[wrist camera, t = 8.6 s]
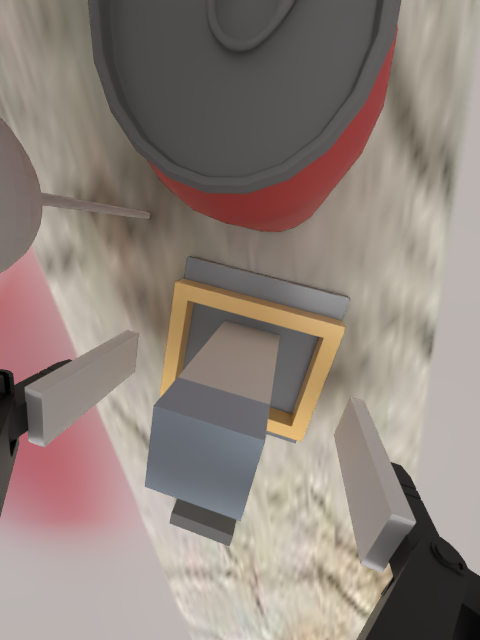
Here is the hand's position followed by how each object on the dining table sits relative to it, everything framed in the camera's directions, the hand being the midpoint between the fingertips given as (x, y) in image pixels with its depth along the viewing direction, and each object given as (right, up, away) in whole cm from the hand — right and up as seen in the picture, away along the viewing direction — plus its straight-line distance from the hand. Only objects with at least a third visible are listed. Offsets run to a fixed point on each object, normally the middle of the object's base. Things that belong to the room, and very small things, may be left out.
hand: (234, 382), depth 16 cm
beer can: (+2, +13, 0) cm, 13 cm away
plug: (+1, +1, +3) cm, 4 cm away
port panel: (+1, +1, +4) cm, 4 cm away
